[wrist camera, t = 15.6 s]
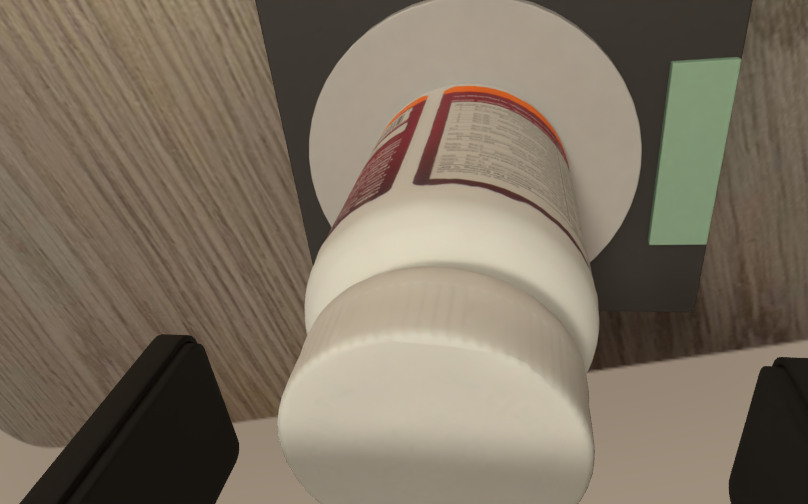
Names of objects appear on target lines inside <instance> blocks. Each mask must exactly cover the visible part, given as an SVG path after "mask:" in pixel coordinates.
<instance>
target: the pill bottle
mask: <svg viewBox="0 0 808 504" xmlns="http://www.w3.org/2000/svg"><path fill="white" fill-rule="evenodd" d="M305 323H306V331H307V338H306V340H305V342H304V345H303V347H302V351H301V354H300V356H299V358H298V360H297V363H296V365H295V367H294V369H293V371H292V374H291V376H290V378H289V380H288V383H287V385H286V388H285V390H284V393H283V395H282V398H281V402H280V407H279V413H278V433H279V440H280V444H281V447H282V450H283V454H284V457H285V459H286V461H287V463H288V465H289V466H290V468H291V470H292V471H293V473H294V475H295V476H296V478H297V480H298V481H299V482H300V483H301V484H302V486H303V487H304V488H305V489H306V490H307V491H308V492H309V493H310V494H311V495H312V496H313V497H314V498H315V499H316V500H317V501H318V502H320V503H321V504H578V503H579V502H580V501H581V499H582V497H583V495H584V493H585V492H586V490H587V488H588V485H589V482H590V479H591V476H592V472H593V466H594V453H595V451H594V440H593V432H592V424H591V416H590V409H589V391H588V385H587V378H586V374H587V372H588V370H589V367H590V365H591V363H592V360H593V357H594V353H595V350H596V346H597V341H598V334H599V311H598V295H597V292H596V288H595V284H594V280H593V276H592V272H591V267H590V263H589V258H588V254H587V249H586V245H585V240H584V236H583V231H582V227H581V222H580V217H579V213H578V208H577V203H576V198H575V193H574V188H573V183H572V179H571V174H570V170H569V165H568V161H567V157H566V154H565V151H564V148H563V145H562V142H561V140H560V138H559V136H558V134H557V132H556V130H555V129H554V127H553V126H552V124H551V123H550V122H549V120H548V119H547V118H546V117H545V116H544V115H543V114H542V113H541V112H540V111H539V110H538V109H537V108H536V107H535V106H534V105H532V104H531V103H530V102H528V101H527V100H525V99H524V98H522V97H520V96H518V95H516V94H514V93H512V92H510V91H508V90H505V89H502V88H500V87H495V86H491V85H485V84H474V83H465V84H455V85H449V86H445V87H441V88H437V89H435V90H432V91H430V92H427V93H425V94H423V95H421V96H419V97H417V98H416V99H414V100H413V101H411V102H409V103H408V104H407V105H406V106H405V107H404V108H402V109H401V110H400V111H399V112H398V113H397V114H396V115H395V116H394V117H393V119H392V120H391V121H390V123H389V124H388V125H387V127H386V128H385V130H384V131H383V133H382V135H381V136H380V138H379V140H378V141H377V143H376V145H375V147H374V149H373V151H372V153H371V155H370V157H369V159H368V160H367V162H366V164H365V166H364V168H363V170H362V171H361V173H360V175H359V177H358V179H357V181H356V183H355V185H354V187H353V189H352V191H351V192H350V194H349V196H348V198H347V200H346V202H345V204H344V206H343V208H342V210H341V212H340V213H339V215H338V217H337V219H336V221H335V223H334V224H333V226H332V228H331V230H330V232H329V234H328V236H327V238H326V240H325V241H324V243H323V244H322V246H321V247H320V250H319V252H318V254H317V257H316V260H315V263H314V266H313V268H312V271H311V274H310V277H309V280H308V284H307V289H306V296H305Z"/></svg>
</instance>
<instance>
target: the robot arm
mask: <svg viewBox="0 0 808 504" xmlns="http://www.w3.org/2000/svg"><path fill="white" fill-rule="evenodd" d="M238 454H239V442H238V439H237V436H236V433H235V430H234V428H233V425H232V422H231V420H230V417H229V414H228V411H227V409H226V406H225V403H224V401H223V398H222V395H221V392H220V390H219V387H218V384H217V381H216V379H215V376H214V373H213V371H212V368H211V365H210V362H209V360H208V357H207V354H206V352H205V349H204V347H203V346H202V345H201V344H197V342H196V340H195V338H193V337H192V336H189V335H166V334H161V335H159V336H157V337H156V338H155V339H154V340H153V341H152V342H151V343H150V344H149V346H148V347H147V348H146V349H145V351H144V352H143V353H142V354H141V355H140V357H139V358H138V359H137V360H136V362H135V363H134V364H133V365H132V366H131V368H130V369H129V370H128V371H127V373H126V374H125V375H124V376H123V377H122V379H121V380H120V381H119V382H118V384H117V385H116V386H115V387H114V389H113V390H112V391H111V392H110V393H109V395H108V396H107V397H106V398H105V400H104V401H103V402H102V403H101V404H100V406H99V407H98V408H97V409H96V411H95V412H94V413H93V414H92V415H91V417H90V418H89V419H88V420H87V422H86V423H85V424H84V425H83V427H82V428H81V429H80V430H79V431H78V433H77V434H76V435H75V436H74V438H73V439H72V440H71V441H70V442H69V444H68V445H67V446H66V447H65V449H64V450H63V451H62V452H61V454H60V455H59V456H58V457H57V458H56V460H55V461H54V462H53V463H52V464H51V466H50V467H49V468H48V469H47V471H46V472H45V473H44V474H43V476H42V477H41V478H40V479H39V481H38V482H37V483H36V484H35V485H34V487H33V488H32V489H31V490H30V491H29V493H28V494H27V495H26V496H25V498H24V499H23V500H22V501H21V502H20V504H215V503H216V501H217V499H218V497H219V495H220V493H221V491H222V489H223V487H224V485H225V483H226V481H227V479H228V477H229V475H230V473H231V471H232V469H233V467H234V465H235V463H236V460H237V458H238ZM729 495H730V501H731V504H808V358H789V357H788V358H787V357H779V358H777V359H776V360H775V361H774V363H773V365H772V367H771V366H764V367H763V368H762V369H761V370H760V373H759V376H758V380H757V384H756V387H755V390H754V394H753V398H752V401H751V405H750V408H749V412H748V415H747V419H746V422H745V426H744V429H743V433H742V437H741V440H740V443H739V447H738V450H737V454H736V457H735V461H734V464H733V468H732V471H731V475H730V479H729Z"/></svg>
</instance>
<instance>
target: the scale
mask: <svg viewBox="0 0 808 504" xmlns="http://www.w3.org/2000/svg"><path fill="white" fill-rule="evenodd" d="M752 1H753V0H255V2H256V6H257V11H258V15H259V20H260V25H261V29H262V34H263V38H264V43H265V48H266V52H267V57H268V61H269V66H270V70H271V75H272V80H273V84H274V89H275V93H276V98H277V103H278V107H279V112H280V116H281V121H282V126H283V130H284V135H285V139H286V144H287V149H288V153H289V158H290V162H291V167H292V171H293V176H294V181H295V185H296V190H297V194H298V199H299V204H300V208H301V213H302V217H303V222H304V227H305V231H306V236H307V240H308V245H309V249H310V254H311V259H312V263H313V266H314V263H315V260H316V257H317V254H318V252H319V250H320V247H321V246H322V244H323V243H324V241H325V240H326V238H327V236H328V234H329V232H330V230H331V228H332V226H333V224H334V223H335V221H336V219H337V217H338V215H339V213H340V212H341V210H342V208H343V206H344V204H345V202H346V200H347V198H348V196H349V194H350V192H351V191H352V189H353V187H354V185H355V183H356V181H357V179H358V177H359V175H360V173H361V171H362V170H363V168H364V166H365V164H366V162H367V160H368V159H369V157H370V155H371V153H372V151H373V149H374V147H375V145H376V143H377V141H378V140H379V138H380V136H381V135H382V133H383V131H384V130H385V128H386V127H387V125H388V124H389V123H390V121H391V120H392V119H393V117H394V116H395V115H396V114H397V113H398V112H399V111H400V110H401V109H402V108H404V107H405V106H406V105H407V104H408V103H409V102H411V101H413V100H414V99H416V98H417V97H419V96H421V95H423V94H425V93H427V92H430V91H432V90H435V89H437V88H441V87H445V86H449V85H455V84H465V83H474V84H485V85H491V86H495V87H500V88H502V89H505V90H508V91H510V92H512V93H514V94H516V95H518V96H520V97H522V98H524V99H525V100H527V101H528V102H530V103H531V104H532V105H534V106H535V107H536V108H537V109H538V110H539V111H540V112H541V113H542V114H543V115H544V116H545V117H546V118H547V119H548V120H549V122H550V123H551V124H552V126H553V127H554V129H555V130H556V132H557V134H558V136H559V138H560V140H561V142H562V145H563V148H564V151H565V154H566V157H567V161H568V165H569V170H570V174H571V179H572V183H573V188H574V193H575V198H576V203H577V208H578V213H579V217H580V222H581V227H582V231H583V236H584V240H585V245H586V249H587V254H588V258H589V263H590V267H591V272H592V276H593V280H594V284H595V288H596V292H597V295H598V311H633V312H693V311H694V308H695V302H696V297H697V292H698V286H699V281H700V276H701V271H702V265H703V260H704V255H705V249H706V244H707V239H708V234H709V229H710V223H711V218H712V213H713V208H714V202H715V197H716V192H717V186H718V181H719V176H720V171H721V165H722V160H723V155H724V149H725V144H726V139H727V134H728V128H729V123H730V118H731V112H732V107H733V102H734V97H735V91H736V86H737V81H738V76H739V70H740V65H741V59H742V54H743V49H744V43H745V38H746V33H747V28H748V22H749V17H750V12H751V6H752Z"/></svg>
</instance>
